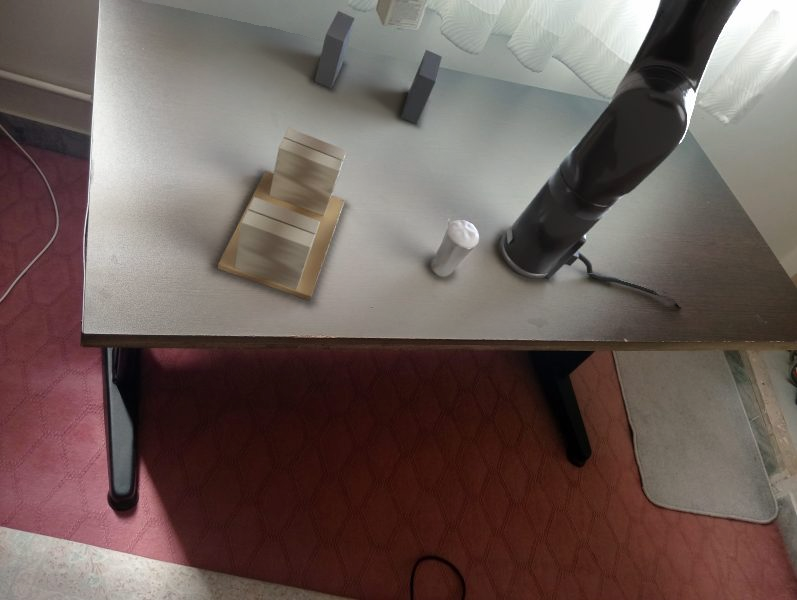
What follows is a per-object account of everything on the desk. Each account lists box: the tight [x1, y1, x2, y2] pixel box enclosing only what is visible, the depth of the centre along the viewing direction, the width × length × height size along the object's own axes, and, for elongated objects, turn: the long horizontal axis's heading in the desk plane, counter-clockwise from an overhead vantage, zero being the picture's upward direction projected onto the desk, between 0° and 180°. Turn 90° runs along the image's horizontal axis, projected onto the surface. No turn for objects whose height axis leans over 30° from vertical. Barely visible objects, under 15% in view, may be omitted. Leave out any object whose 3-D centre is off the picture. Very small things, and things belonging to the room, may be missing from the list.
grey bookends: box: [314, 10, 443, 125], centre depth 93 cm, size 19×8×9 cm, turn 79°
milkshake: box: [430, 217, 480, 278], centre depth 75 cm, size 5×5×10 cm
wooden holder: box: [217, 127, 348, 301], centre depth 69 cm, size 12×18×10 cm, turn 169°
